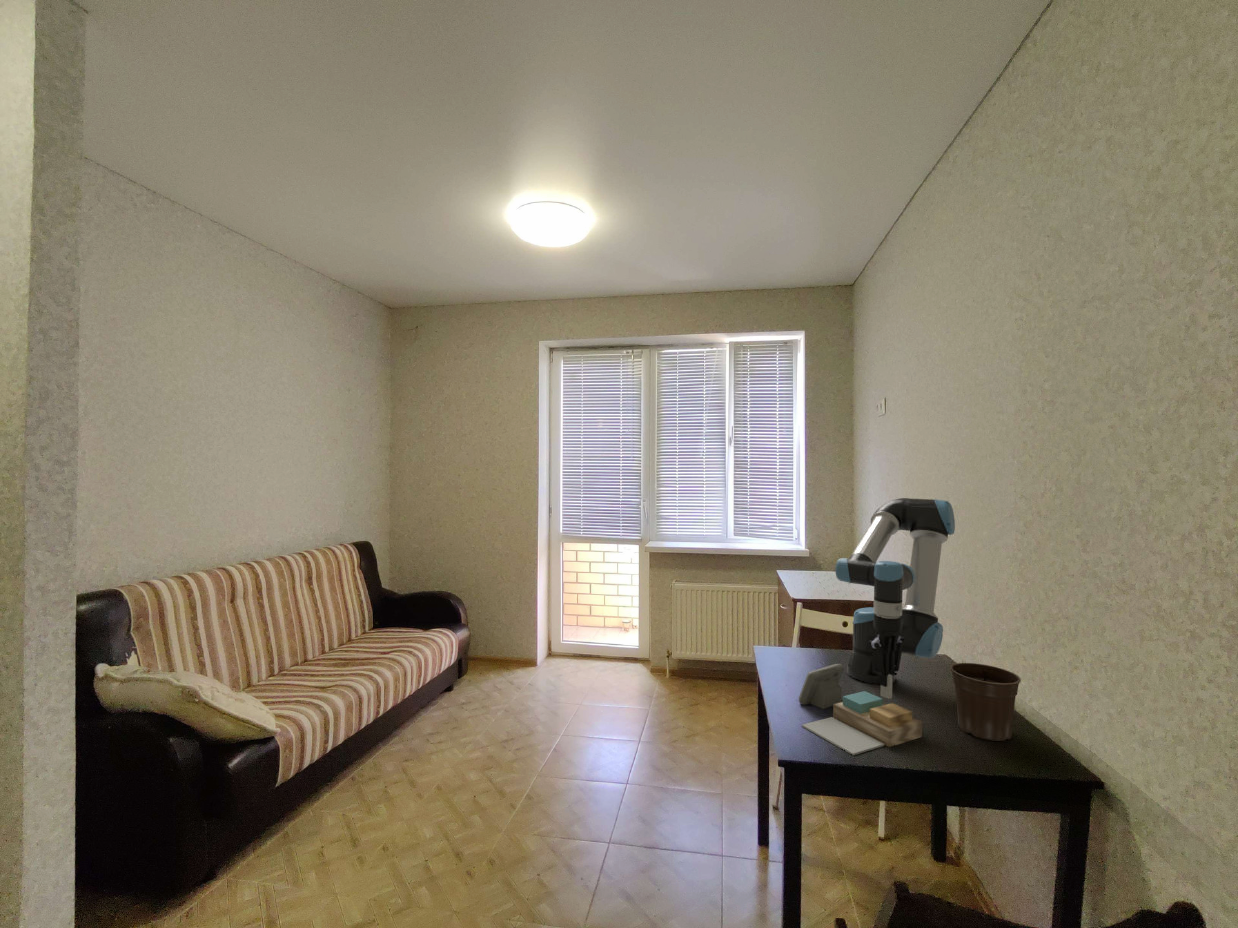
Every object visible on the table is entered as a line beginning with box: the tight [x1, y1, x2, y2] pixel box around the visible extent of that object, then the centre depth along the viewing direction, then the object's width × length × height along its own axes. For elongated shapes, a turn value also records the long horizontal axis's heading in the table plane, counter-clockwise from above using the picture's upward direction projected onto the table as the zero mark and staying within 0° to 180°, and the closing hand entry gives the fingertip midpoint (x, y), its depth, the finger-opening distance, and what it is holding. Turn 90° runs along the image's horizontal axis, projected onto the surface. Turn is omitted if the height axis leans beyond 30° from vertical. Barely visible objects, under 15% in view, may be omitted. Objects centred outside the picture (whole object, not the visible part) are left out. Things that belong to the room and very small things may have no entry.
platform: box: [832, 701, 923, 748], centre depth 154 cm, size 13×18×4 cm
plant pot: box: [949, 662, 1022, 742], centre depth 153 cm, size 16×16×16 cm
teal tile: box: [842, 690, 884, 714], centre depth 158 cm, size 9×6×2 cm, turn 117°
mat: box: [801, 716, 885, 756], centre depth 149 cm, size 12×17×1 cm
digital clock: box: [798, 663, 844, 710], centre depth 171 cm, size 16×9×11 cm, turn 113°
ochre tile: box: [870, 702, 913, 728], centre depth 150 cm, size 9×6×2 cm, turn 117°
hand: (886, 696), depth 163 cm, fingers closed
